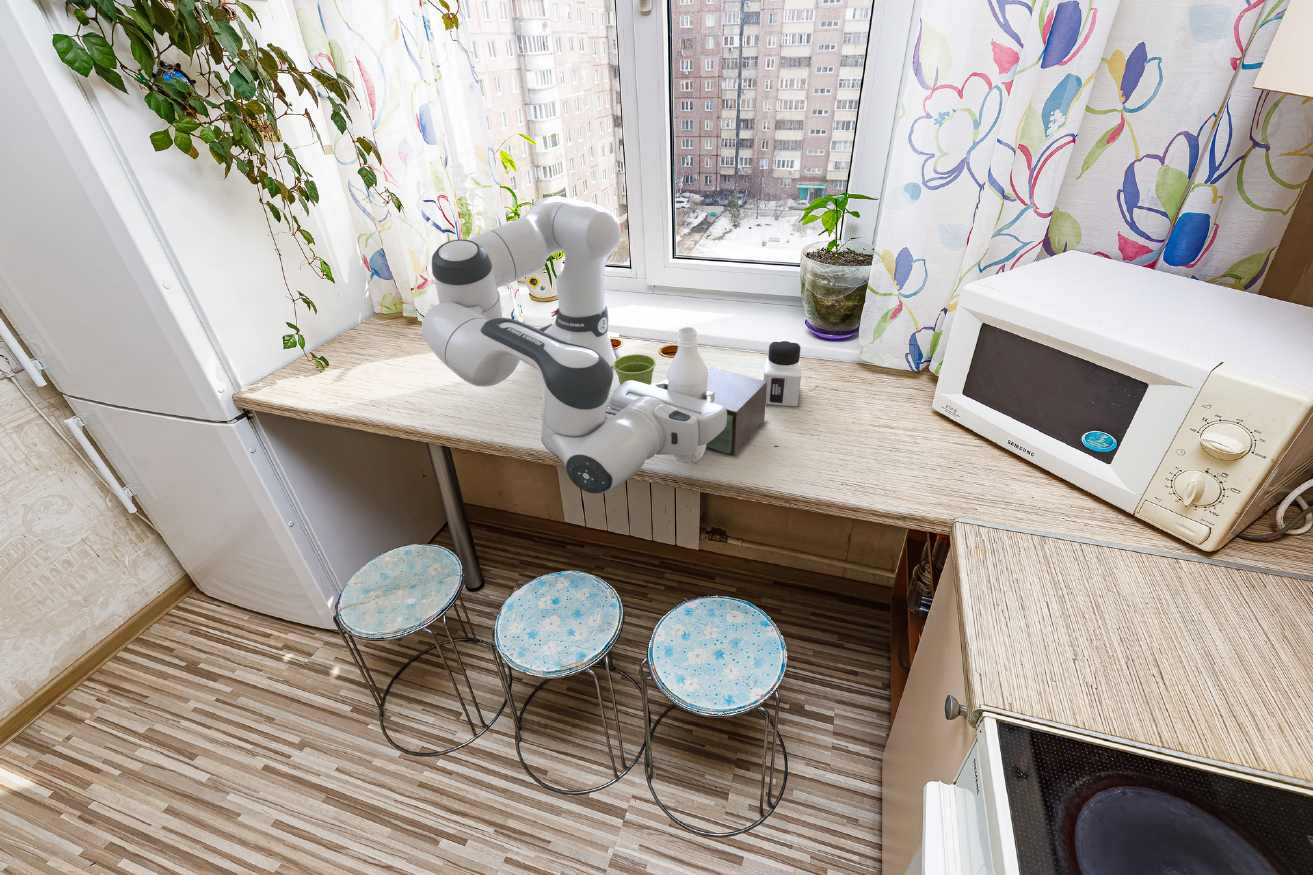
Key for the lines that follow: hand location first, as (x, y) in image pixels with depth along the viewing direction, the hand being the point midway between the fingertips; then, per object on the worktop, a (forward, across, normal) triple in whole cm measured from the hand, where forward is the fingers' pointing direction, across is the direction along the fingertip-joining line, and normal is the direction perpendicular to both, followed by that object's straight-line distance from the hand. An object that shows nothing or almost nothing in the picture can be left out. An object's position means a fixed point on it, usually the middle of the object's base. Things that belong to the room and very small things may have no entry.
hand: (690, 389), depth 106 cm
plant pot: (+15, -23, -16) cm, 32 cm away
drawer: (+10, 0, -15) cm, 18 cm away
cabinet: (+13, 0, -16) cm, 20 cm away
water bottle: (-1, 0, -14) cm, 14 cm away
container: (+31, +5, -16) cm, 35 cm away
